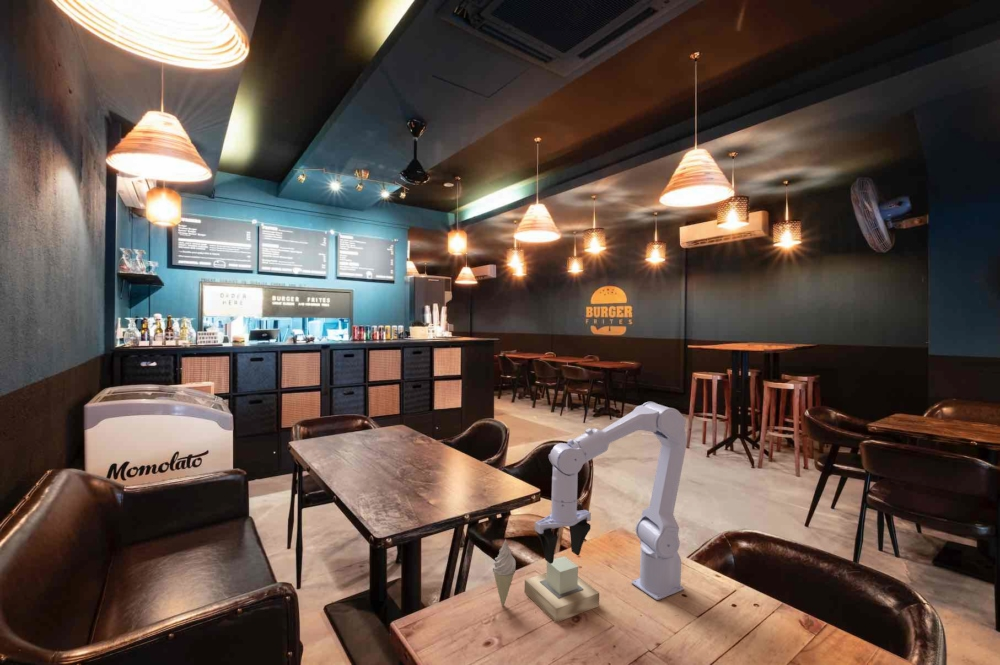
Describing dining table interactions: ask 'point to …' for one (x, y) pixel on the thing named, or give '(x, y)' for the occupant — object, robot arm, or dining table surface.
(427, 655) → the dining table surface
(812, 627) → the dining table surface
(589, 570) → the dining table surface
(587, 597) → the birch pedestal
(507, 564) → the ice cream cone
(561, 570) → the sage cube
